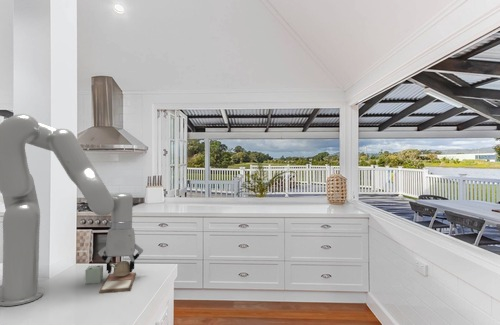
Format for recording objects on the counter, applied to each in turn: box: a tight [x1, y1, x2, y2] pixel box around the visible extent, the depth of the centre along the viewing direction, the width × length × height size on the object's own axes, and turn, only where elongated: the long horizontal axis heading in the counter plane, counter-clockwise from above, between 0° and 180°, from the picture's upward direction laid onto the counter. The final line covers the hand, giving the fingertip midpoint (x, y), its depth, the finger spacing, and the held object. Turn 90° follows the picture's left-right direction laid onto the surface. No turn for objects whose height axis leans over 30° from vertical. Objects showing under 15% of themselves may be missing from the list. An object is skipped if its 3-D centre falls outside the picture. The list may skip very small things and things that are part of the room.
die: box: [84, 264, 104, 285], centre depth 117 cm, size 5×5×5 cm
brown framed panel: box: [98, 271, 137, 294], centre depth 115 cm, size 10×16×1 cm, turn 14°
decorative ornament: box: [110, 260, 131, 276], centre depth 119 cm, size 4×8×5 cm, turn 128°
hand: (120, 271), depth 119 cm, fingers closed on decorative ornament, 7 cm apart
